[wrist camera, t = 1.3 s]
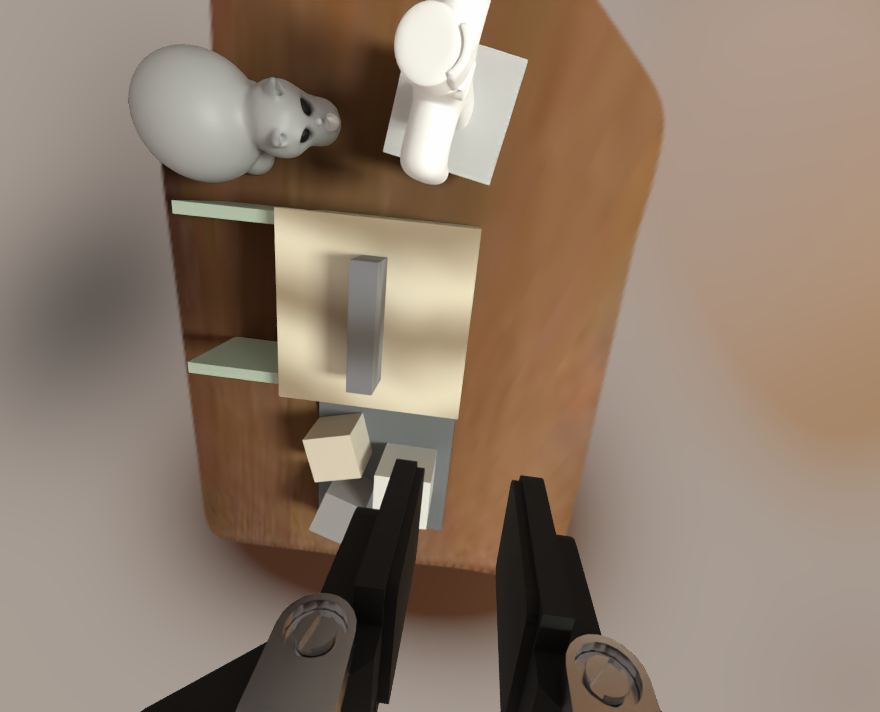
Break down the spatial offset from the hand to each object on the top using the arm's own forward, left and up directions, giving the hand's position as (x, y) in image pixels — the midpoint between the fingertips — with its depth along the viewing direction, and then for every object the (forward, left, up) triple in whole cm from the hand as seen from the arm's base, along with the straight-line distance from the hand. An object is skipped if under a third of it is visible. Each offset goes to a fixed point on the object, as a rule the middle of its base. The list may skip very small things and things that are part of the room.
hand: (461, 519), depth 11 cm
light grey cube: (+19, -10, -25) cm, 33 cm away
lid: (0, -7, -18) cm, 19 cm away
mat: (+16, -6, -25) cm, 31 cm away
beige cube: (+13, -10, -25) cm, 30 cm away
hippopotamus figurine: (-11, -16, -25) cm, 32 cm away
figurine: (-13, -3, -25) cm, 29 cm away
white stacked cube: (+15, -4, -25) cm, 29 cm away
